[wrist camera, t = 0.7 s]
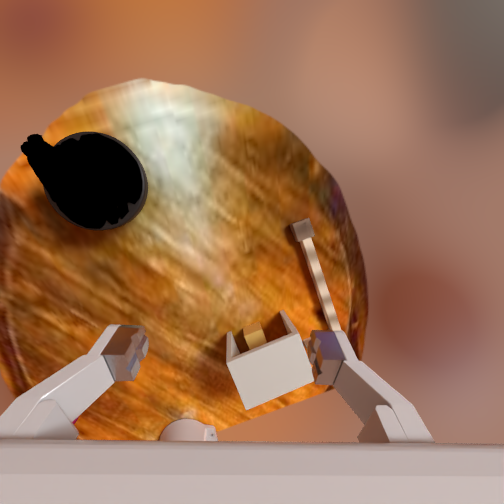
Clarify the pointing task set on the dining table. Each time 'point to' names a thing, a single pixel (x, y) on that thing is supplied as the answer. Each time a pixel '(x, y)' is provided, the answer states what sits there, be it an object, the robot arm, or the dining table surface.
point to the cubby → (269, 367)
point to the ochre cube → (254, 335)
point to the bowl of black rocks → (89, 178)
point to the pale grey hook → (315, 272)
